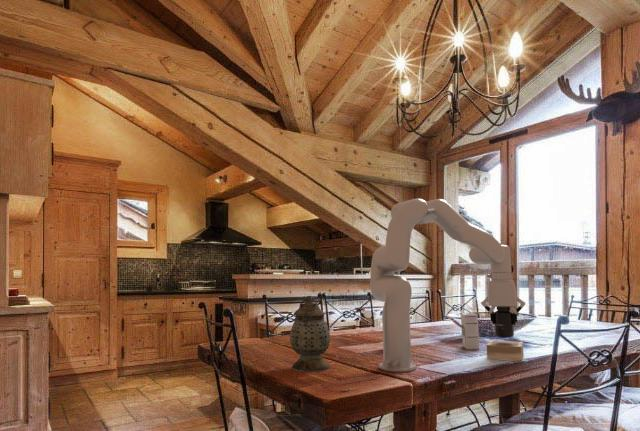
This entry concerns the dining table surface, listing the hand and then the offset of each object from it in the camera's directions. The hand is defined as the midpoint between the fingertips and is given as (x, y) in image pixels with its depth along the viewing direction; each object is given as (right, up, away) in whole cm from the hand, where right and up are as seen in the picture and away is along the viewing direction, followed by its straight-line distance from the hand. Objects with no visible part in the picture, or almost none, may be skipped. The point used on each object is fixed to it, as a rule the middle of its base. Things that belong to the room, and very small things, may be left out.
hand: (504, 323), depth 182 cm
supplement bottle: (0, -5, 0) cm, 5 cm away
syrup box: (-7, -15, +19) cm, 25 cm away
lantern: (-74, -12, -17) cm, 77 cm away
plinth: (0, -12, -1) cm, 13 cm away
